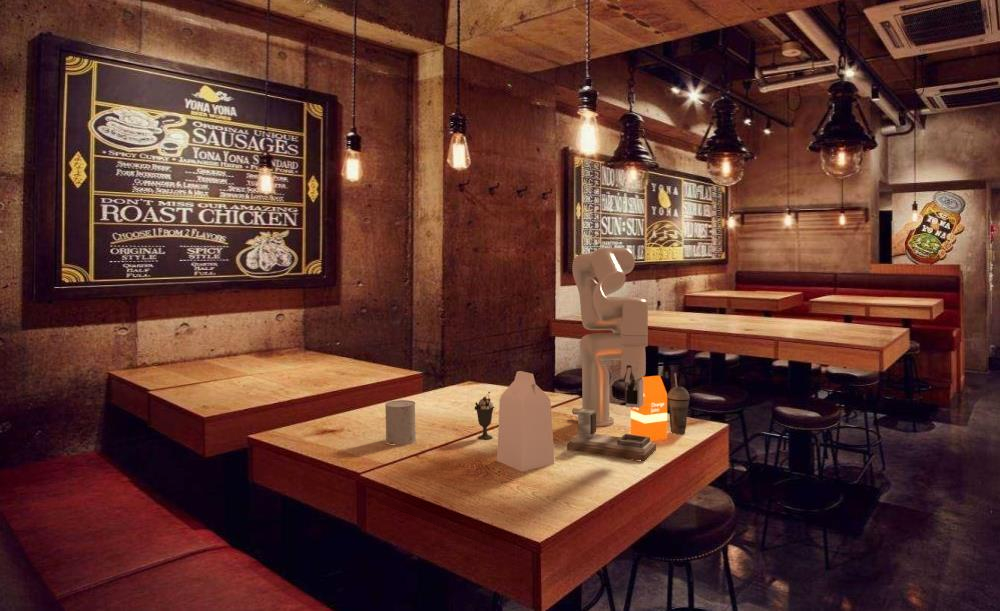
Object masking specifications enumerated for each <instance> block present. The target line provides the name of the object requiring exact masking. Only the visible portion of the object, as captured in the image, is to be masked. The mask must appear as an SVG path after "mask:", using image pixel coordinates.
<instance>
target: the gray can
mask: <svg viewBox="0 0 1000 611" xmlns="http://www.w3.org/2000/svg"><path fill="white" fill-rule="evenodd" d="M384 407H385V438H386V439H385V443H386V442H387V443H389V444H395V445H394V446H396V445H400V446H405V445H404V444H409V445H411V444H410V443H412V444H414V443H416V442H417V439H416V402H415V401H413V400H406V399H405V400H404V399H402V400H401V399H400V400H391V401H388V402H386V403H385V404H384ZM413 442H414V443H413ZM387 443H386V444H387ZM389 444H388V445H389Z"/></svg>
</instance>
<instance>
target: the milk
mask: <svg viewBox="0 0 1000 611" xmlns="http://www.w3.org/2000/svg"><path fill="white" fill-rule="evenodd" d="M498 403H499V405H498V409H499V410H498V430H497V431H498V432H497V434H498V435H497V454H496V455H497V457H496V461H497V462H499V463H502V464H504V465H506V466H508V467H511V468H513V469H515V470H518V471H520V472H522V473H523V472H527V471H531V470H534V469H538V468H543V467H547V466H551V465H554V464H555V451H554V435H553V417H552V416H553V415H552V401H551V399H550V397H549V396H548V394H547V393H546V392H544V390H542V389H541V388H540V387H539V386H538V385H537V384H536V380H535V377H534V373H532V372H531V373H530V372H526V371H522V370H519V371H516V373H515V376H514V380H513V381H512V382H511V384H509V386H508V387H506V389H505V390H504V392H503V393H502V394H501V396H500V398H499V402H498Z"/></svg>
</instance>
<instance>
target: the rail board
mask: <svg viewBox="0 0 1000 611" xmlns="http://www.w3.org/2000/svg"><path fill="white" fill-rule="evenodd" d="M596 432H597V426H596V413H595V410H587V409H582V410H580V411H579V412H578V415H577V434H576V435H573V437H571V438H570V441H569V442H567V443H566V451H571V452H577V453H583V454H584V453H585V454H590V455H597V456H603V457H612V458H617V459H622V458H624V459H623V460H629V459H633V460H632V461H636V460H641V461H640V462H642V461H645V460H646V459H647V458H648V457H649V456H650V455H651V454H652V453H653V452H654V451H655V452H656V451H657V443H653V442H654V441H650V437H646V436H639V435H631V433H624V434H623V435H622V436H621V437H620V436H614V435H607V434H605V435H604V434H599V433H596ZM655 452H654V453H655ZM654 453H653V454H654ZM653 454H652V455H653ZM652 455H651V456H652ZM651 456H650V457H651ZM650 457H649V458H650ZM649 458H648V459H649ZM648 459H647V460H648ZM647 460H646V461H647ZM646 461H645V462H646Z"/></svg>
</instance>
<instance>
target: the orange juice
mask: <svg viewBox="0 0 1000 611" xmlns="http://www.w3.org/2000/svg"><path fill="white" fill-rule="evenodd" d="M642 379H644V384H643V406H642V407H640V408H634V407H630V434H631V435H639V436H646V437H650V441H651V440H655V441H658V440H657V439H662V440H665V439H664V438H668V435H667V434H668V399H667V397H668V393H667V390H666V387H665V385H664V382H663V379H662V378H661V375H650V376H644V377H642ZM651 442H652V441H651Z"/></svg>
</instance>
